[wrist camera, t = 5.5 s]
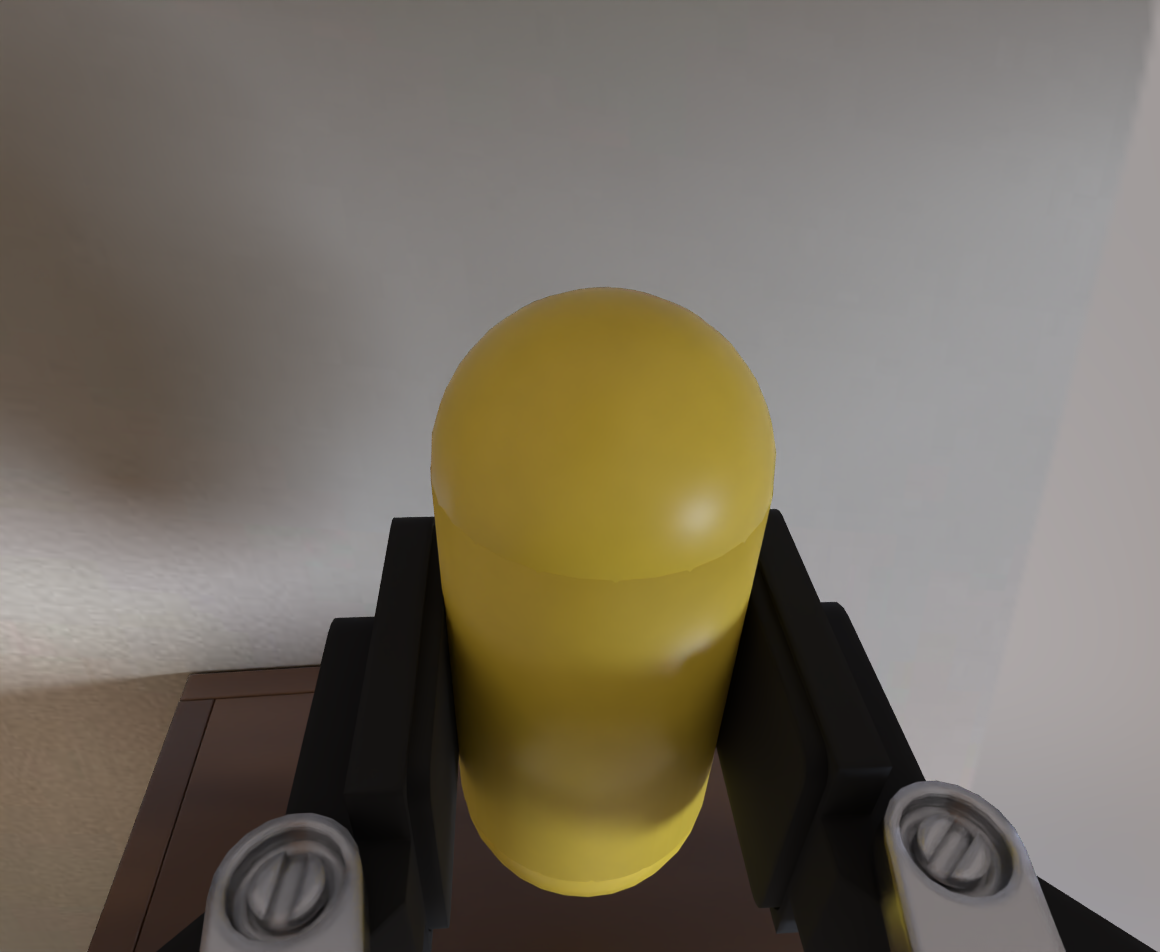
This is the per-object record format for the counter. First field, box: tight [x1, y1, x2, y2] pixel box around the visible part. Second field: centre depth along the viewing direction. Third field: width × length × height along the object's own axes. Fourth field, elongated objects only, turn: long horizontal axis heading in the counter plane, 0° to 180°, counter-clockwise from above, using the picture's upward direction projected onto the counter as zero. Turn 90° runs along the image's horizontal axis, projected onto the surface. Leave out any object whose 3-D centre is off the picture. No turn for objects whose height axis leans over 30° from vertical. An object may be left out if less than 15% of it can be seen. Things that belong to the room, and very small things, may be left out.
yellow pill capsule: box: [431, 287, 776, 897], centre depth 10 cm, size 9×4×4 cm
